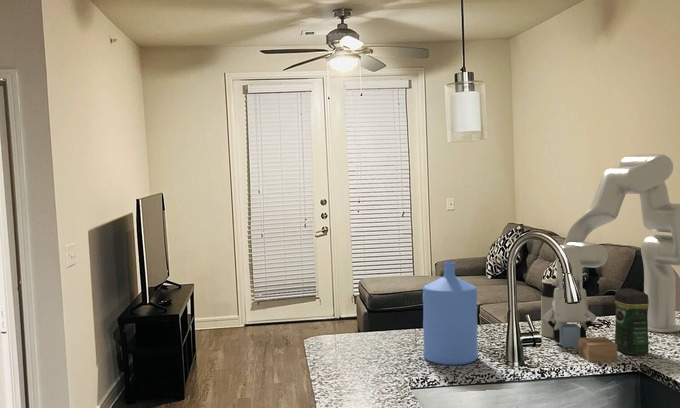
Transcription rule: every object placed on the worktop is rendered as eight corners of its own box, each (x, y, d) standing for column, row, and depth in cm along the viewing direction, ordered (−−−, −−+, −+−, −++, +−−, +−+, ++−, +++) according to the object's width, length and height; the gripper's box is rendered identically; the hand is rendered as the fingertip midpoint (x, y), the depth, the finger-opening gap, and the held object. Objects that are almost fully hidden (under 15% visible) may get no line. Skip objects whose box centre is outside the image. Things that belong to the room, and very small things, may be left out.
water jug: (486, 363, 186) (485, 265, 184) (432, 367, 183) (431, 267, 182) (466, 349, 201) (465, 258, 200) (416, 352, 198) (415, 260, 197)
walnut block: (578, 354, 194) (578, 337, 194) (605, 353, 194) (605, 337, 194) (588, 362, 186) (588, 344, 186) (617, 361, 186) (617, 344, 186)
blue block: (559, 342, 207) (559, 323, 207) (575, 342, 207) (575, 323, 206) (563, 346, 202) (563, 327, 202) (580, 346, 202) (580, 327, 201)
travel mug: (536, 335, 216) (536, 280, 215) (549, 331, 221) (549, 277, 220) (558, 339, 210) (558, 283, 209) (571, 335, 215) (571, 280, 214)
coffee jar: (653, 355, 191) (654, 291, 190) (627, 356, 190) (628, 292, 189) (634, 346, 200) (635, 286, 199) (610, 348, 199) (610, 287, 198)
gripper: (543, 287, 200) (543, 345, 201) (602, 286, 199) (602, 345, 200) (537, 282, 208) (538, 338, 209) (594, 282, 206) (594, 338, 207)
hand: (569, 341), depth 204 cm, fingers open, 6 cm apart
